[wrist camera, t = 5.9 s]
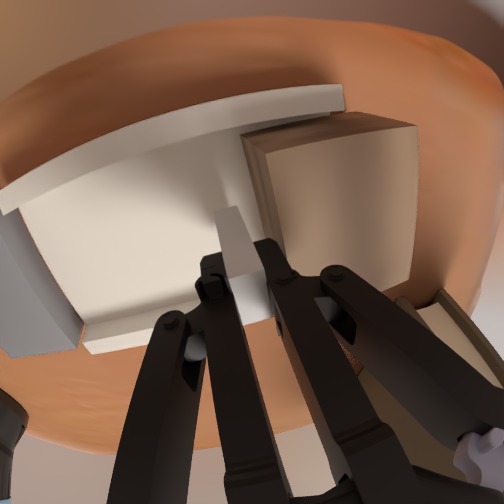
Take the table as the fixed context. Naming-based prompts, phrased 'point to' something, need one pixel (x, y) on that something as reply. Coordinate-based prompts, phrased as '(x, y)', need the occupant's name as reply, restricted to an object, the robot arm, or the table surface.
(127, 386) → the table surface
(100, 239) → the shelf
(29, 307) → the plinth
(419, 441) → the book
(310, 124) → the block
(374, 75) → the table surface
